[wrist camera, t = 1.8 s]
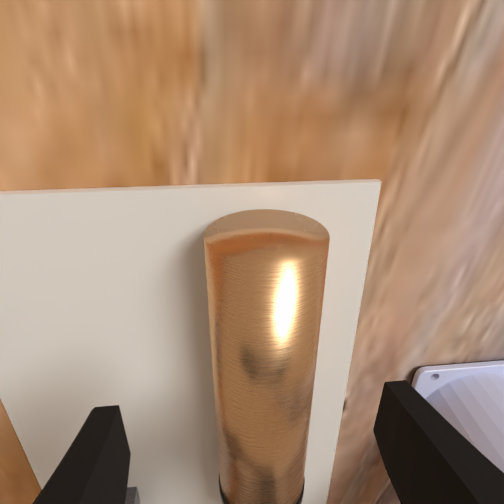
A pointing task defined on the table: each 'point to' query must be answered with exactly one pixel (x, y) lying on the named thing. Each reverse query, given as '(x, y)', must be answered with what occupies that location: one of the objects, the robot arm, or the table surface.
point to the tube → (264, 348)
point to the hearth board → (155, 322)
